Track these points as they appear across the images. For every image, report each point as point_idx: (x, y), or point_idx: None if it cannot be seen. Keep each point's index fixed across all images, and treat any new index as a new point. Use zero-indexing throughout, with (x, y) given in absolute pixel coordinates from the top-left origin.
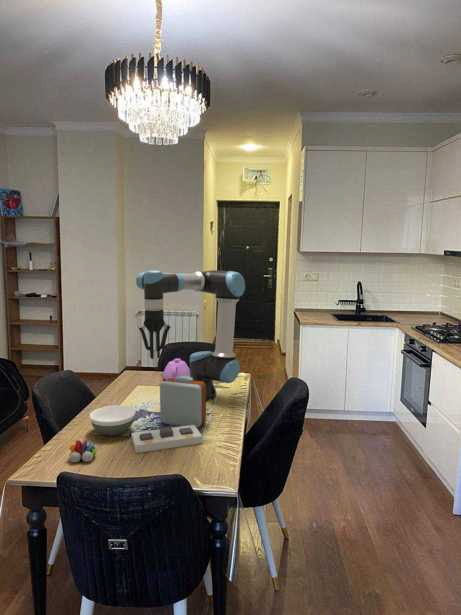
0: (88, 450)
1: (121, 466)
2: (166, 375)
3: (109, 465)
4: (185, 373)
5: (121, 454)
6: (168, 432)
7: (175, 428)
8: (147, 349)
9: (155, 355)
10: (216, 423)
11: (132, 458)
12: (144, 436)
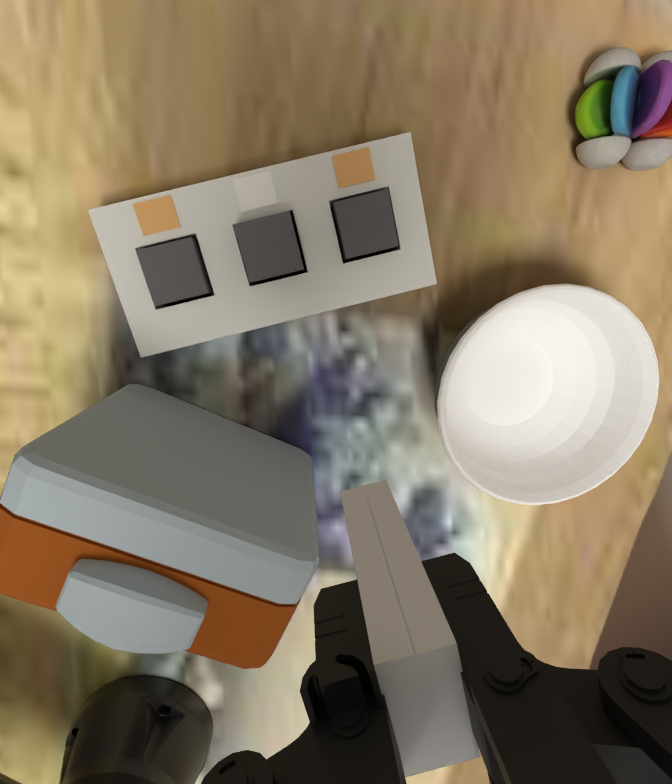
0: (625, 66)
1: (457, 9)
2: None
3: (507, 28)
4: None
5: (462, 139)
6: (257, 218)
7: (231, 319)
8: (634, 658)
9: (395, 587)
10: None
11: (414, 89)
12: (375, 212)
